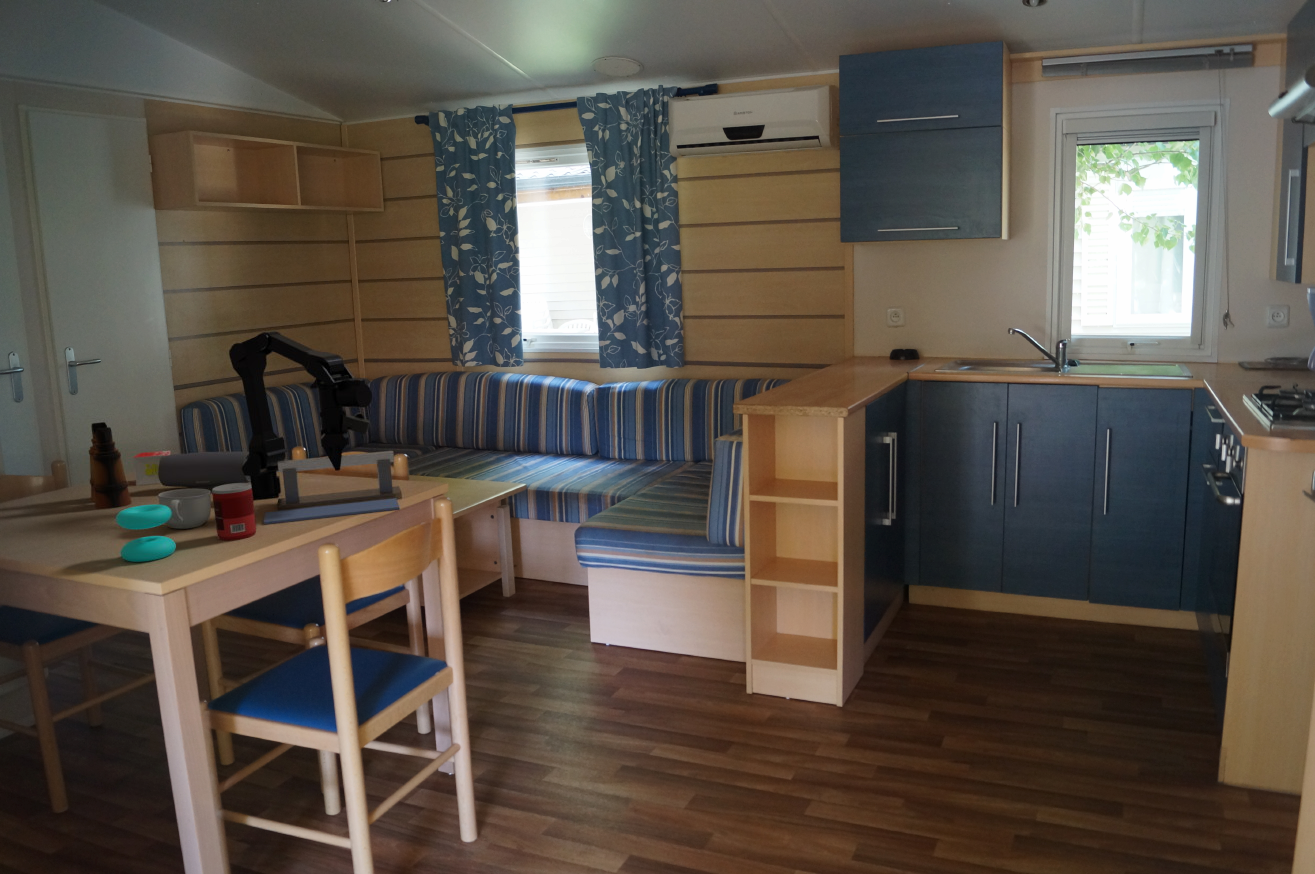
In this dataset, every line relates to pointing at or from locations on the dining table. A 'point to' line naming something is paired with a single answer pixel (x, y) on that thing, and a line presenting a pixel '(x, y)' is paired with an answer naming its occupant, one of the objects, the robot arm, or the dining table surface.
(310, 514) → the mat
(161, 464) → the bluetooth speaker
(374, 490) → the stand
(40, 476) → the dining table surface
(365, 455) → the rail
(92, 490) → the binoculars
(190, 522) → the teacup
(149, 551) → the donuts
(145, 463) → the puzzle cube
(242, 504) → the canned food
